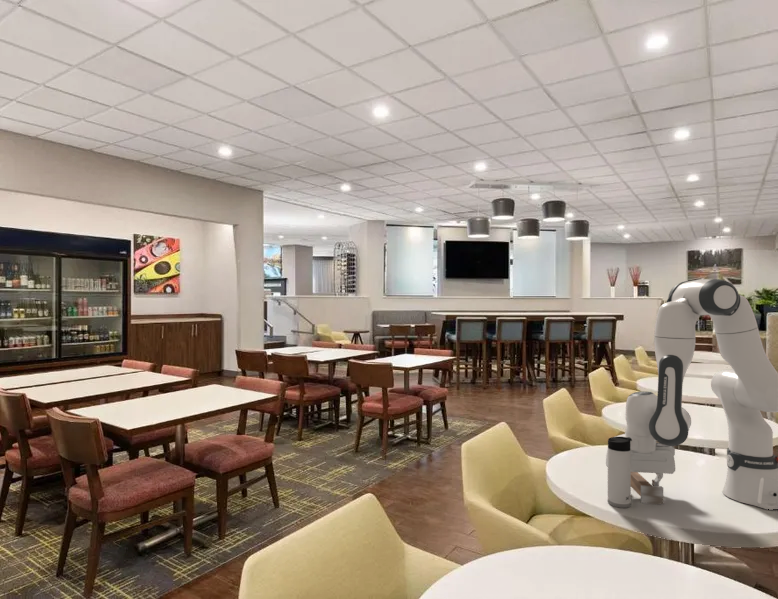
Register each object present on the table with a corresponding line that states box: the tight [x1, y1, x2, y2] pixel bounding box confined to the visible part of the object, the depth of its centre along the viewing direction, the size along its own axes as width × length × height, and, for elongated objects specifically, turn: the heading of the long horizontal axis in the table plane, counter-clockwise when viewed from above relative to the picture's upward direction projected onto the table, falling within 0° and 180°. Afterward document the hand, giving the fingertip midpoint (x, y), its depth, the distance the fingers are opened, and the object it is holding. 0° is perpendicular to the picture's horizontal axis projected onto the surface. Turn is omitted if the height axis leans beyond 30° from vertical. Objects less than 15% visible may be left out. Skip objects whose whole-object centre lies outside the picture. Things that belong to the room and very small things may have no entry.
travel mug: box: [607, 436, 632, 509], centre depth 147 cm, size 6×7×20 cm
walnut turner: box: [631, 472, 664, 505], centre depth 156 cm, size 6×19×5 cm, turn 173°
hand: (640, 485), depth 156 cm, fingers open, 8 cm apart
